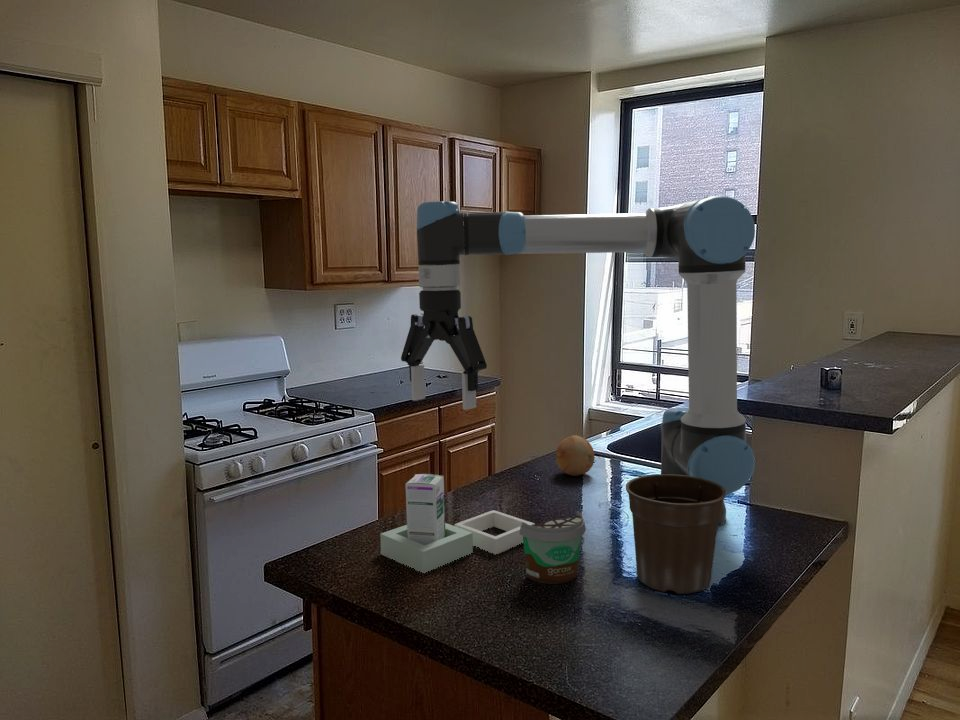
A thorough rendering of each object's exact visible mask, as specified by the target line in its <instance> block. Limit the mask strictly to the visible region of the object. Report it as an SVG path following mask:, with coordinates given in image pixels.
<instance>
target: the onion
mask: <svg viewBox="0 0 960 720" xmlns="http://www.w3.org/2000/svg"><path fill="white" fill-rule="evenodd" d="M555 461H556V464H557V467H558V468H559V469H560V471H562V472H563V473H565V474H566V475H569V476H573V477H577V476H580V475H581V476H582V475H584V474H586V473H588V472H589V471H590V470H591V469H592V467H593V466H594V463H595V452H594V448H593V446H592V444H591V443H590V442H589V440H587V439H586V438H585V437H582V436H580V435H577V434H576V435H575V434H574V435H570V436H568V437H566V438H565V439H562V440H561V441H560V443H559V444H558V446H557V448H556V449H555Z"/></svg>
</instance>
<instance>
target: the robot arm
mask: <svg viewBox="0 0 960 720" xmlns="http://www.w3.org/2000/svg"><path fill="white" fill-rule="evenodd" d="M754 221H755V220H754V218H753V216H752V214H751V211H750V210H749V209H748V208H747V207H746V206H745V205H744V203H742V202H741V201H739V200H737V199H736V198H733V197H730V196H725V195H710V196H704V197H702V198H698V199H695V200H690V201H686V202H684V203H679V204H677V205H671V206H665V207H649V208H648V209H646V210H645V212H642V213H640V212H639V213H637V212H636V213H595V214H593V213H592V214H591V213H590V214H589V213H587V214H586V213H585V214H584V213H583V214H581V213H580V214H541V215H540V214H536V215H535V214H533V215H532V214H531V215H524V214H523V213H522V212H521V211H508V210H506V211H505V210H504V211H494V212H493V211H491V212H490V211H489V212H460V209H459V204H458V203H457V202H455V201H449V200H448V201H443V200H442V201H440V200H439V201H426V202H422V203H420V204H419V205H418V206H417V210H416V243H417V259H418V260H417V261H418V263H417V264H418V286H419V287H420V288H421V289H422V290H420V291H419V294H418V295H419V296H418V298H419V301H418V303H419V310H420V311H422V312H423V313H417V314H416V313H415V314H411V315H410V326H409V331H408V333H407V336H406V340H405V342H404V346H403V351H402V352H401V357H400V360H401V362H405V363H407V366H408V368H409V381H410V382H411V400H412V401H414V402H415V401H420V400H424V399H426V384H425V377H426V376H425V364H424V362H423V360H424V358H425V357H426V355H427V353H428V352H429V349H430V348H431V346H432V344H433V343H434V341H436V340H439V341H441V342H445V343H446V344H448V345H449V346H450V348H451V349H452V351H453V353H454V354H455V356H456V358H457V359H458V361H459V363H460V364H461V366H462V369H463V370H464V371H463V372H462V373H461V387H462V388H461V389H462V390H461V392H462V393H461V394H462V398H461V399H462V410H465V411H466V410H471V409H474V408H477V391H478V390H479V372H481V371H482V370H486V369H487V367H488V365H487V362H486V358H485V356H484V353H483V351H482V348H481V346H480V344H479V341H478V337H477V335H476V333H475V330H474V324H473V317H472V316H471V315H467V316H460V317H459V310H461V308H462V301H461V300H462V299H461V298H462V297H461V295H462V293H461V291H460V289H458V288H459V287H460V286H461V268H460V263H461V262H460V257H461V256H469V255H470V256H471V255H473V256H475V255H481V256H483V255H485V256H495V255H496V256H497V255H505V256H510V255H522V254H523V255H528V254H530V255H531V254H532V255H533V254H534V255H535V254H539V255H540V254H542V255H543V254H599V253H601V254H602V253H604V254H605V253H611V254H612V253H644V255H645V256H646V257H647V258H668V259H676V260H677V261H678V264H677V265H678V275H679V276H680V277H681V278H682V279H683V280H684V281H685V283H686V287H687V288H686V289H687V293H686V294H687V354H688V355H687V356H688V357H687V359H688V360H687V361H688V366H687V368H688V371H687V372H688V407H675V408H668V409H665V410H664V412H663V414H662V422H661V423H660V425H661V451H660V452H661V454H660V455H661V457H660V458H661V459H660V474H674V475H686V476H693V477H699V478H703V479H707V480H710V481H712V482H715V483H717V484H719V485H721V486H722V487H724V488H725V490H726V495H730V494H732V493H736V492H738V491H740V490H741V489H742V488H743V487H744V486H745V485H746V484H747V483H748V482H749V481H750V479H751V478H752V476H753V474H754V471H755V467H756V466H755V465H756V460H755V454H754V452H753V450H752V448H751V446H750V445H749V444H748V443H747V429H746V428H747V426H746V425H747V423H746V421H747V420H746V417H744V416H743V415H742V413H740V412H739V411H738V374H737V373H738V361H737V360H738V352H737V351H738V347H737V346H738V343H737V341H738V340H737V336H738V334H737V333H738V327H737V325H738V322H737V321H738V318H737V316H738V313H737V310H738V307H737V305H738V304H737V303H738V299H737V297H738V296H737V293H738V292H737V289H738V288H737V285H738V284H737V282H738V280H739V278H741V277H742V276H743V274H745V273H746V254H747V252H748V251H749V250H750V249H751V247H752V245H753V243H754V240H755V235H756V227H755V226H756V225H755V222H754ZM726 521H727V507H726V504H725V499H723V503H722V510H721V516H720V518H719V519H718V526H717V527H719V526H721V525H723V524H724V523H725V522H726Z"/></svg>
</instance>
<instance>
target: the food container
mask: <svg viewBox="0 0 960 720" xmlns="http://www.w3.org/2000/svg"><path fill="white" fill-rule="evenodd" d="M575 513H576V514H575V516H570V517H565V518H551V519H548V520H545V521H542V522H539V523H536V524H535V525H528V524H526V523H524V522H522V526H521V527H520V533H519V534H520V535H522V536H523V542H524V543H523V551H524V560H525V561H524V562H525V563H524V564H525V574H526V577H527V578H528V579H529V580H531V581H534V582H537V583H543V584H549V585H551V584H552V585H554V584H557V585H558V584H563V583H568V582H570V581H572V580H574V579H576V578H577V576H578V569H579V559H580V553H581V543H582V536H583V535H584V534H585V533H586V532H587V531H586V530H587V529H586V524H585V523H586V521H585V519H584V517H583V516H584V515H583V514H582V513H581V512H580V511H578V510H577V511H576V512H575Z"/></svg>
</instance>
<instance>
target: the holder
mask: <svg viewBox="0 0 960 720" xmlns="http://www.w3.org/2000/svg"><path fill="white" fill-rule="evenodd" d="M522 522H524V523H526V524H528V525H536V524H535V523H534V522H531V521H528V520H526V519H522V518H519V517H516V516H513V515H510V514H507V513H504V512H500V511H499V510H494V509H493V510H490V511H487V512H484V513H482V514H479V515H477V516H473V517H470V518H468V519H465V520H462V521H459V522H457V523H454V525H453V526H455V527H458V528H461V529H463V530H466V531H469V532H472V533H473V547H474V546H476V547H475V548H477V547H479V548H480V549H479V548H478V549H479V550H482V549H483V550H482V551H484V550H485V552H487V551H488V553H490V554H492V553H493V555H495V556H497V555H499V554H500V553H503V552H506V551H508V550H510V548H511V549H512V547H513V548H515V547H518V546H520V545H522V544H524V542H523V536H522V535H520V534H519V533H520V527H521V526H522ZM493 527H494V528H497V529H500V530H503V531H505V532H503V533H500V534H498V535H494V534H493V535H492V534H490V533H487V532H484V531H486V530H488V528H489V529H491V528H493ZM483 530H484V531H483ZM521 543H522V544H521ZM519 544H520V545H519ZM517 545H518V546H517ZM496 554H497V555H496Z"/></svg>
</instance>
